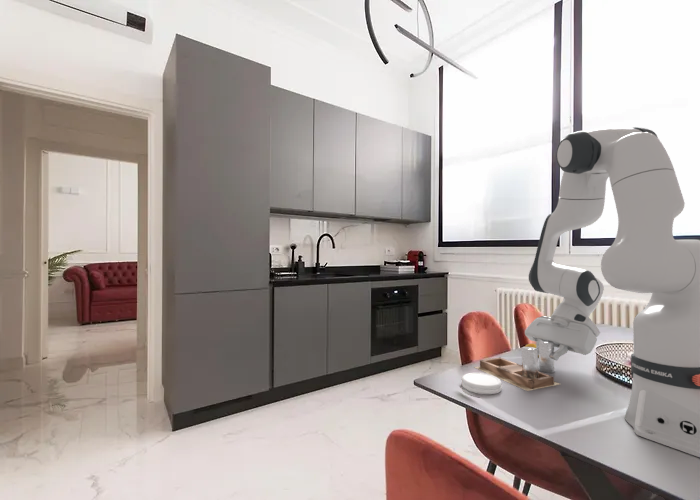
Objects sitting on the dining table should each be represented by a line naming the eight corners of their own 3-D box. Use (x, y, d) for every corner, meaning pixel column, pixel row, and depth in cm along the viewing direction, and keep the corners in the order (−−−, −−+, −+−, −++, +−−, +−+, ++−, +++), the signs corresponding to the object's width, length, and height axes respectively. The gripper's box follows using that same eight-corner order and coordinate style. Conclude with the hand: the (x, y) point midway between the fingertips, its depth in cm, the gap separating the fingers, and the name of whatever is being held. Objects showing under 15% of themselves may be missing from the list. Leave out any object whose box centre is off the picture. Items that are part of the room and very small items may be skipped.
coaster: (506, 401, 87) (505, 386, 87) (464, 398, 89) (464, 384, 89) (497, 385, 97) (497, 373, 97) (459, 383, 99) (459, 371, 99)
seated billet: (541, 382, 95) (541, 349, 95) (530, 385, 94) (530, 351, 94) (529, 378, 99) (529, 346, 99) (518, 380, 98) (518, 347, 98)
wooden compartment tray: (560, 387, 95) (560, 376, 95) (527, 394, 90) (527, 383, 90) (503, 365, 113) (503, 356, 113) (473, 370, 109) (473, 360, 109)
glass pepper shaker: (557, 373, 104) (557, 343, 104) (547, 375, 103) (547, 344, 103) (545, 369, 108) (545, 340, 108) (536, 371, 107) (535, 341, 107)
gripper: (533, 309, 118) (511, 341, 114) (595, 319, 99) (571, 358, 95) (543, 321, 119) (522, 353, 116) (606, 334, 100) (583, 373, 97)
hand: (544, 356), depth 105 cm, fingers closed on glass pepper shaker, 4 cm apart
